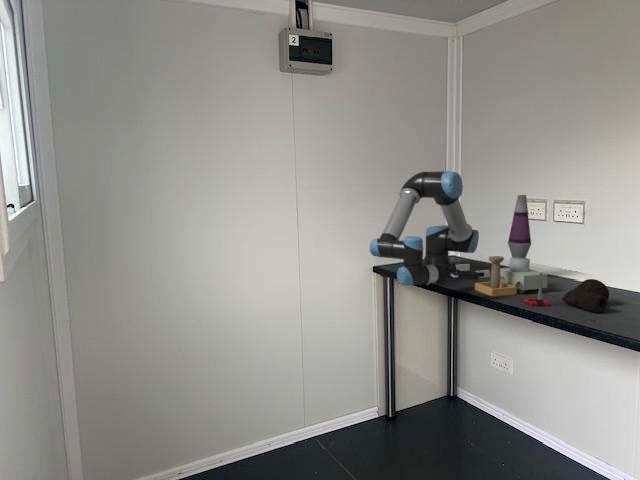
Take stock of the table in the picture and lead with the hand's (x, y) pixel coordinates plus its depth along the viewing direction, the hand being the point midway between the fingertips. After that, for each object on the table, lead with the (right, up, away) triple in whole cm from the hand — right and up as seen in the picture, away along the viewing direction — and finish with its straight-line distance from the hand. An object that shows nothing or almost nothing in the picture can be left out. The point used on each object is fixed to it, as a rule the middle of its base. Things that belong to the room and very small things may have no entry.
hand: (479, 270), depth 195 cm
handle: (+8, -10, +4) cm, 13 cm away
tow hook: (+18, -12, -13) cm, 25 cm away
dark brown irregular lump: (+35, -13, -19) cm, 42 cm away
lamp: (+27, -6, +26) cm, 38 cm away
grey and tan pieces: (+15, -9, +6) cm, 18 cm away
